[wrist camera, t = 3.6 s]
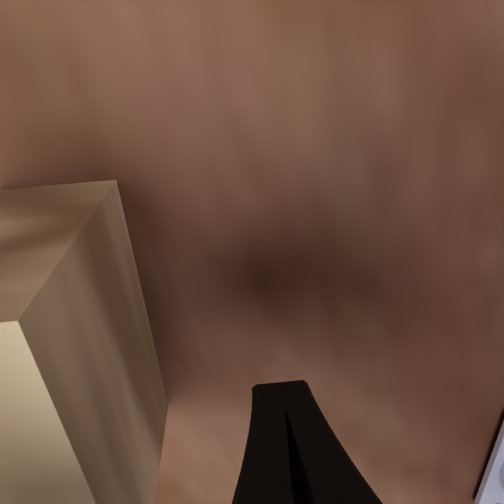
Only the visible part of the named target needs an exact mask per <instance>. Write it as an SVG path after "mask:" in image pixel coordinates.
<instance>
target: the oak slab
mask: <svg viewBox="0 0 504 504" xmlns="http://www.w3.org/2000/svg"><path fill="white" fill-rule="evenodd" d="M167 409H168V402H167V397H166V393H165V389H164V384H163V380H162V376H161V371H160V367H159V363H158V358H157V354H156V350H155V345H154V341H153V337H152V332H151V328H150V324H149V319H148V315H147V311H146V306H145V302H144V298H143V293H142V289H141V285H140V280H139V276H138V272H137V267H136V263H135V259H134V254H133V250H132V246H131V241H130V237H129V233H128V228H127V224H126V220H125V215H124V211H123V207H122V202H121V198H120V194H119V189H118V185H117V181H116V180H108V181H95V182H83V183H70V184H57V185H45V186H32V187H20V188H7V189H0V504H154V503H155V495H156V488H157V481H158V474H159V467H160V459H161V452H162V445H163V438H164V431H165V423H166V416H167Z"/></svg>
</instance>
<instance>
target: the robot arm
mask: <svg viewBox="0 0 504 504" xmlns="http://www.w3.org/2000/svg"><path fill="white" fill-rule="evenodd" d="M474 503H475V504H504V421H503V423H502V426H501V429H500V432H499V435H498V437H497V440H496V443H495V446H494V448H493V451H492V454H491V457H490V460H489V462H488V465H487V468H486V471H485V473H484V476H483V479H482V482H481V485H480V487H479V490H478V493H477V496H476V498H475V501H474ZM232 504H382V502H381V501H380V500H379V498H378V497H377V496H376V494H375V493H374V492H373V490H372V489H371V487H370V486H369V485H368V483H367V482H366V481H365V479H364V478H363V476H362V475H361V474H360V472H359V471H358V469H357V468H356V466H355V465H354V463H353V462H352V461H351V459H350V457H349V456H348V454H347V453H346V451H345V450H344V448H343V447H342V445H341V444H340V442H339V440H338V439H337V437H336V436H335V434H334V433H333V431H332V429H331V428H330V426H329V424H328V422H327V421H326V419H325V417H324V415H323V414H322V412H321V410H320V408H319V406H318V405H317V403H316V401H315V399H314V397H313V395H312V393H311V390H310V388H309V386H308V383H307V382H305V381H304V380H299V381H289V382H278V383H268V384H258V385H255V386H254V387H253V388H252V413H251V421H250V427H249V434H248V439H247V444H246V449H245V454H244V459H243V463H242V468H241V472H240V475H239V479H238V483H237V487H236V490H235V494H234V498H233V501H232Z"/></svg>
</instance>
